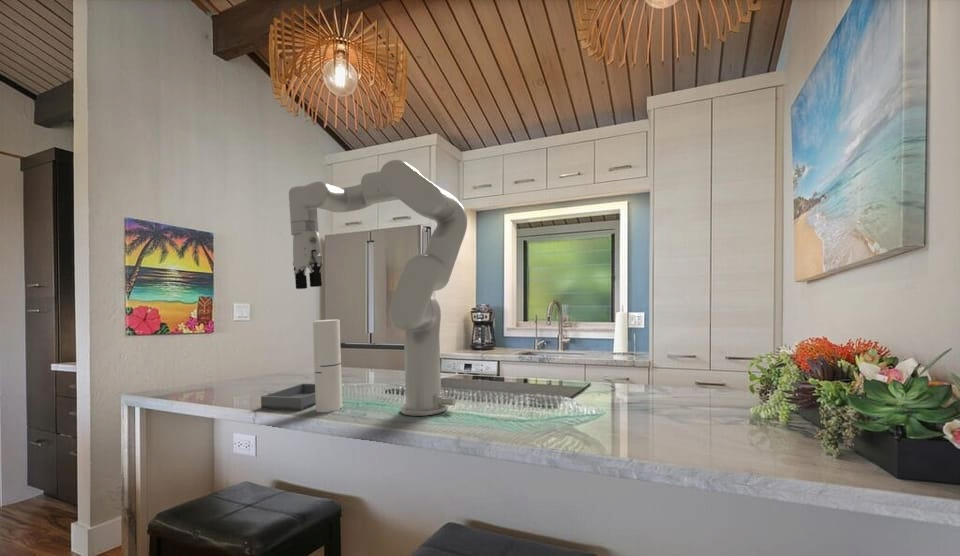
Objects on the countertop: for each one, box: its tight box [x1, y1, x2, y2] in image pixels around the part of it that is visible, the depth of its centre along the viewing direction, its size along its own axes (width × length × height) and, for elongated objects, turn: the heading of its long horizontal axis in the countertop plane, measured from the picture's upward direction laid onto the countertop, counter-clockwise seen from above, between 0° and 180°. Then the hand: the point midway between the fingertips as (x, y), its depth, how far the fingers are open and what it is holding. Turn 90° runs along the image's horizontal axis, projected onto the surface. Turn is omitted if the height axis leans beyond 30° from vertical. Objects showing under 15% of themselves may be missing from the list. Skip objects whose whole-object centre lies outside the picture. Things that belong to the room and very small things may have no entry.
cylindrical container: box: [312, 319, 343, 413], centre depth 130 cm, size 7×7×25 cm
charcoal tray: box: [260, 383, 316, 412], centre depth 139 cm, size 14×18×4 cm
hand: (308, 287), depth 133 cm, fingers open, 9 cm apart
